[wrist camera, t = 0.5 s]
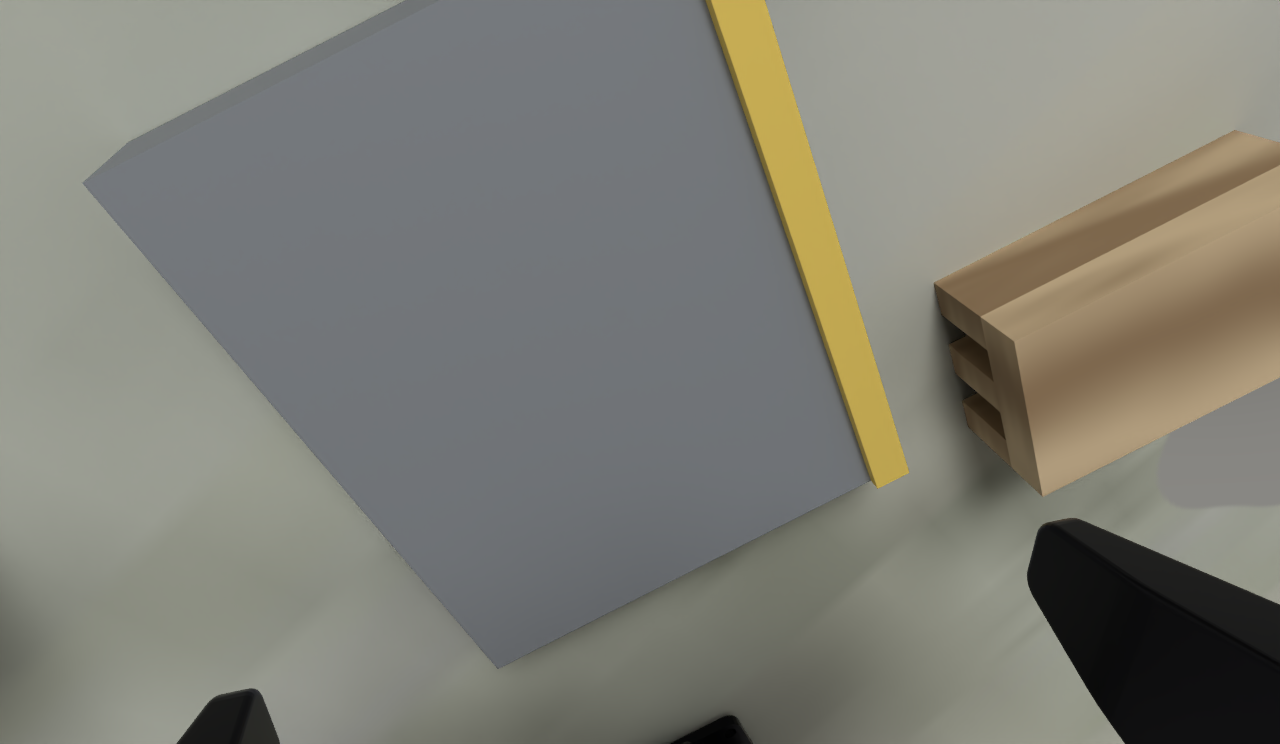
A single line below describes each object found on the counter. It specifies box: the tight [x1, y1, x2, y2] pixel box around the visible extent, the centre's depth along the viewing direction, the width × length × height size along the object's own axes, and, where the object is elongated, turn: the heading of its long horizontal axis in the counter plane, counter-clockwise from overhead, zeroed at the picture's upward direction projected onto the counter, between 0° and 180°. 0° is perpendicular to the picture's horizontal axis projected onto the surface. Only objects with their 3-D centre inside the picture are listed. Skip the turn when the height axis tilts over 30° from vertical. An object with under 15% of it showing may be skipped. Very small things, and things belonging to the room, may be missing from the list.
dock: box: [83, 0, 909, 669], centre depth 21 cm, size 16×13×3 cm
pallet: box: [934, 130, 1280, 497], centre depth 25 cm, size 6×10×4 cm, turn 113°
